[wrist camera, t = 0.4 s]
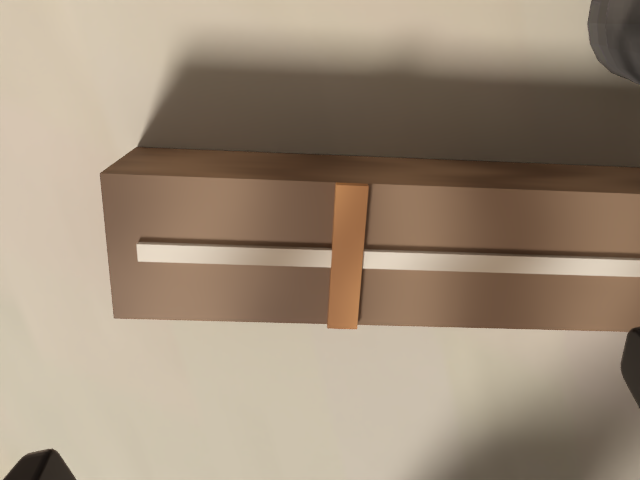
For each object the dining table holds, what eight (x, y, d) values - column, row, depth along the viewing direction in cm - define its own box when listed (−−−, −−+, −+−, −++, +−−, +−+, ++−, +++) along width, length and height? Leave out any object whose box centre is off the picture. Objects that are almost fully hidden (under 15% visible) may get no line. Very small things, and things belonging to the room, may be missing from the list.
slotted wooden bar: (804, 174, 22) (918, 207, 18) (762, 288, 23) (857, 341, 19) (136, 147, 20) (96, 176, 16) (145, 269, 22) (110, 322, 18)
